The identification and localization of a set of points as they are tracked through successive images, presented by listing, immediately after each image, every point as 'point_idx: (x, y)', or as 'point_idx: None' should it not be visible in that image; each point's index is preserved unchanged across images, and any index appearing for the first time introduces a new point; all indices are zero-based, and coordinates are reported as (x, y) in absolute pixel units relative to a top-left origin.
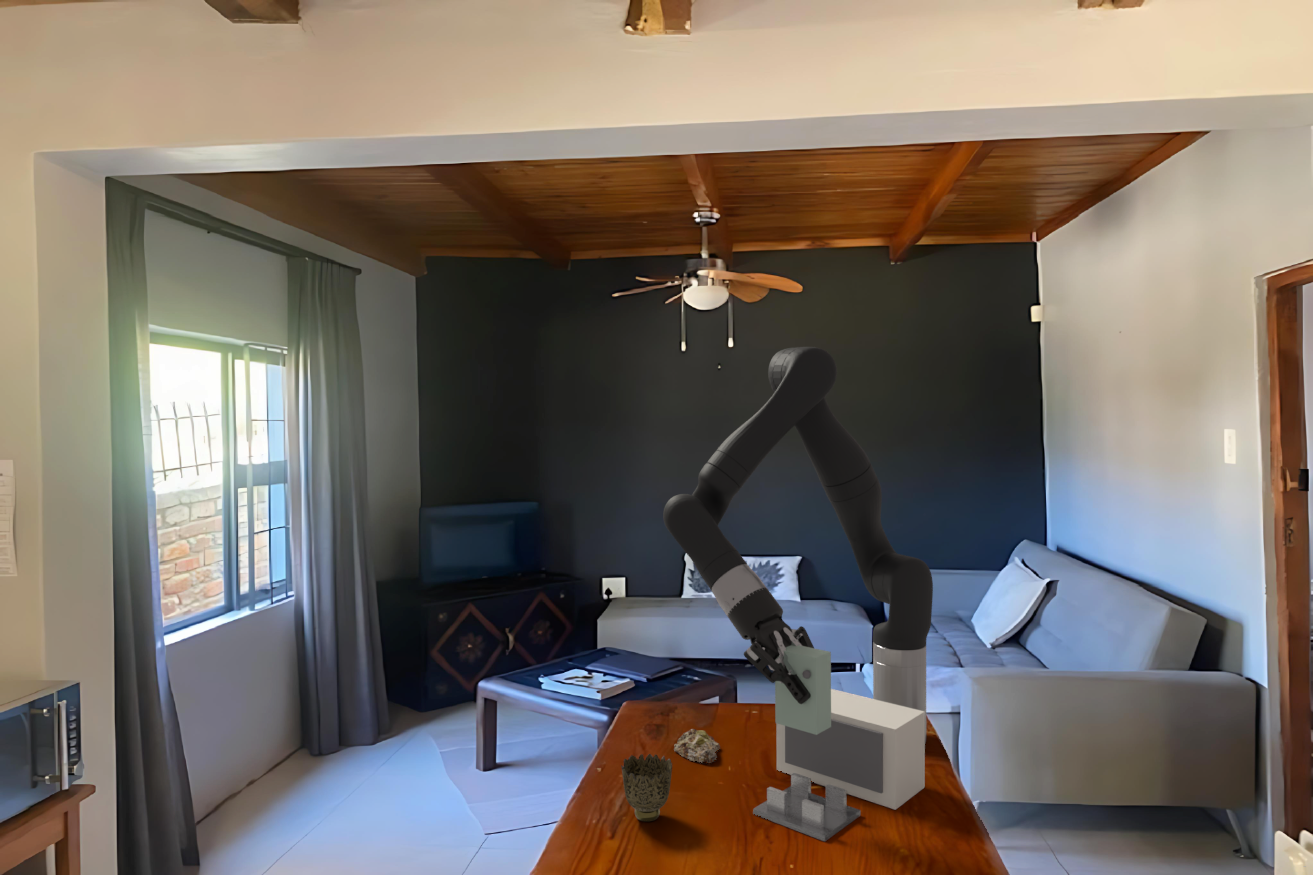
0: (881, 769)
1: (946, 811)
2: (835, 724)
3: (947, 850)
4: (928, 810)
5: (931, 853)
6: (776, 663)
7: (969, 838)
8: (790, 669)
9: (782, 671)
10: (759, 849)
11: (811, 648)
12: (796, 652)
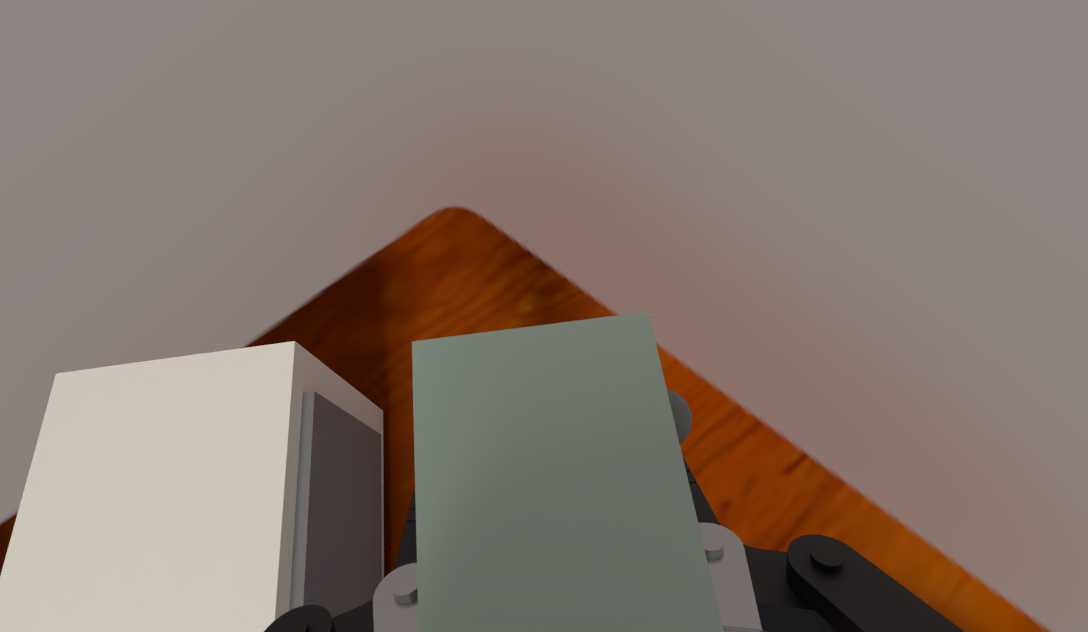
0: (358, 420)
1: (315, 337)
2: (310, 592)
3: (465, 258)
4: (336, 363)
5: (496, 270)
6: (870, 619)
7: (395, 256)
8: (720, 544)
9: (815, 549)
10: (769, 500)
11: (439, 535)
12: (663, 548)
